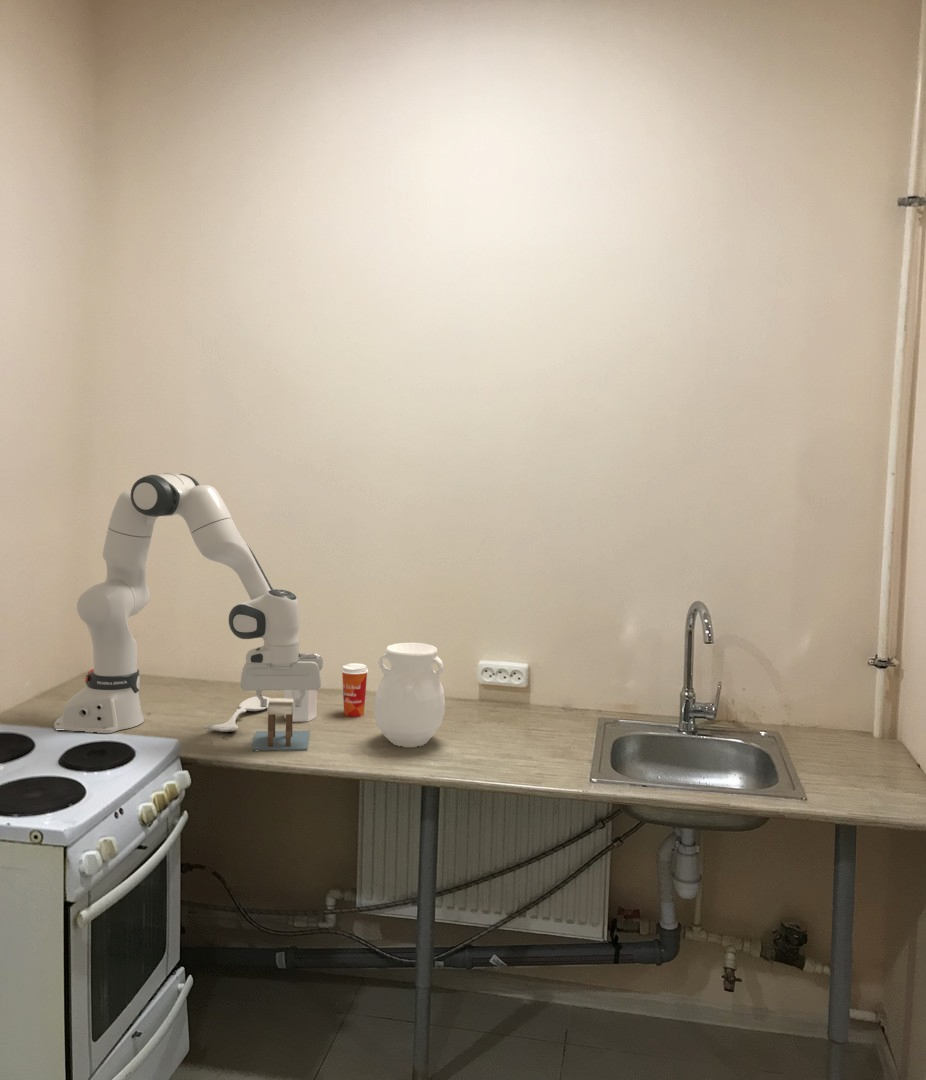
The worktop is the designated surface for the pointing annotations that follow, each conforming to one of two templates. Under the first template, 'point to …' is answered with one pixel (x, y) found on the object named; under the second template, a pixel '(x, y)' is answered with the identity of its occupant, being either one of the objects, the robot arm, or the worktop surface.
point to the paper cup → (354, 689)
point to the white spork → (244, 706)
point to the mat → (281, 741)
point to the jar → (303, 705)
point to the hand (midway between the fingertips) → (281, 706)
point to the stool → (280, 708)
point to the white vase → (410, 694)
